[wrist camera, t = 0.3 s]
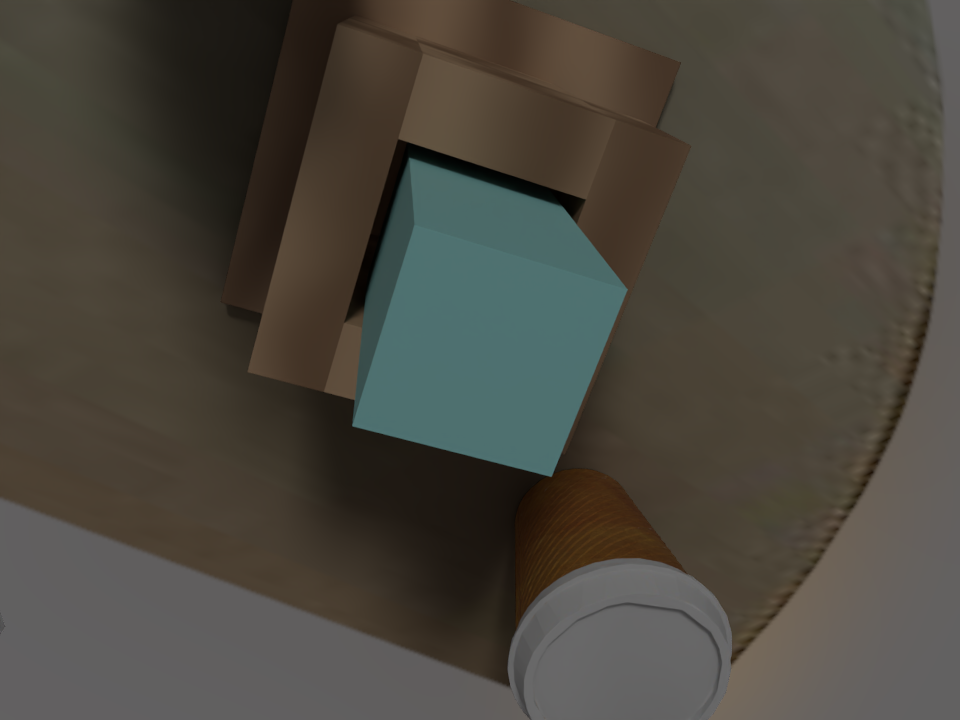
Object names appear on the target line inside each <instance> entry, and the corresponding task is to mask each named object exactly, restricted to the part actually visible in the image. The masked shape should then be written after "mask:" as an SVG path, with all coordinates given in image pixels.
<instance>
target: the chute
mask: <svg viewBox="0 0 960 720" xmlns="http://www.w3.org/2000/svg"><path fill="white" fill-rule="evenodd" d="M680 64H681V62H678V61H675V60H672V59H670V58H667V57H664V56H661V55H659V54H656V53H653V52H650V51H648V50H645V49H642V48H639V47H637V46H634V45H631V44H628V43H626V42H623V41H620V40H617V39H615V38H612V37H609V36H606V35H604V34H601V33H598V32H595V31H593V30H590V29H587V28H584V27H582V26H579V25H576V24H573V23H571V22H568V21H565V20H562V19H560V18H557V17H554V16H551V15H549V14H546V13H543V12H540V11H538V10H535V9H532V8H529V7H527V6H524V5H521V4H519V3H516V2H513V1H510V0H293V2H292V6H291V10H290V15H289V19H288V23H287V27H286V31H285V35H284V40H283V44H282V48H281V52H280V56H279V60H278V65H277V69H276V73H275V77H274V81H273V85H272V90H271V94H270V98H269V102H268V106H267V110H266V115H265V119H264V123H263V127H262V131H261V136H260V140H259V144H258V148H257V152H256V156H255V161H254V165H253V169H252V173H251V177H250V181H249V186H248V190H247V194H246V198H245V202H244V206H243V211H242V215H241V219H240V223H239V227H238V231H237V236H236V240H235V244H234V248H233V252H232V256H231V261H230V265H229V269H228V273H227V277H226V282H225V286H224V290H223V294H222V298H221V303H225V304H229V305H232V306H236V307H240V308H243V309H247V310H251V311H254V312H258V313H262V318H261V322H260V326H259V329H258V333H257V337H256V341H255V345H254V349H253V353H252V357H251V360H250V364H249V368H248V372H249V373H253V374H257V375H260V376H264V377H268V378H272V379H276V380H280V381H283V382H287V383H291V384H295V385H299V386H303V387H306V388H310V389H314V390H318V391H322V392H326V393H330V394H333V395H337V396H341V397H345V398H349V399H353V400H355V394H356V384H357V374H358V364H359V355H360V345H361V335H362V325H363V315H364V306H365V296H366V286H367V276H368V273H369V269H370V266H371V263H372V259H373V256H374V253H375V249H376V246H377V242H378V239H379V236H380V232H381V229H382V226H383V222H384V219H385V216H386V212H387V209H388V206H389V202H390V199H391V195H392V192H393V189H394V185H395V182H396V179H397V175H398V172H399V169H400V165H401V162H402V158H403V155H404V152H405V148H406V145H407V142H409V143H412V144H415V145H419V146H422V147H425V148H428V149H431V150H434V151H437V152H440V153H443V154H446V155H450V156H453V157H456V158H459V159H462V160H465V161H468V162H471V163H474V164H477V165H481V166H484V167H487V168H490V169H493V170H496V171H499V172H502V173H505V174H508V175H512V176H515V177H518V178H521V179H524V180H527V181H530V182H533V183H536V184H539V185H542V186H546V187H548V189H549V190H550V191H551V192H552V194H553V195H554V196H555V198H556V199H557V200H558V201H559V203H560V204H561V205H562V206H563V208H564V209H565V210H566V212H567V213H568V214H569V215H570V217H571V218H572V219H573V220H574V222H575V223H576V224H577V226H578V227H579V228H580V229H581V231H582V232H583V233H584V234H585V236H586V237H587V238H588V240H589V241H590V242H591V243H592V245H593V246H594V247H595V249H596V250H597V251H598V252H599V254H600V255H601V256H602V257H603V259H604V260H605V261H606V263H607V264H608V265H609V266H610V268H611V269H612V270H613V271H614V273H615V274H616V275H617V277H618V278H619V279H620V280H621V282H622V283H623V284H624V285H625V287H626V288H627V289H628V290H627V292H626V295H625V297H624V300H623V302H622V305H621V307H620V310H619V312H618V315H617V317H616V320H615V322H614V324H613V327H612V329H611V332H610V334H609V337H608V339H607V342H606V344H605V347H604V349H603V352H602V354H601V356H600V359H599V361H598V364H597V366H596V369H595V371H594V374H593V376H592V379H591V381H590V384H589V386H588V388H587V391H586V393H585V396H584V398H583V401H582V403H581V406H580V408H579V411H578V413H577V416H576V418H575V420H574V423H573V425H572V428H571V430H570V433H569V435H568V438H567V440H566V443H565V445H564V448H563V450H562V452H561V454H564V455H565V454H566V452H567V449H568V447H569V444H570V442H571V440H572V437H573V435H574V432H575V430H576V427H577V425H578V422H579V420H580V417H581V415H582V413H583V410H584V408H585V405H586V403H587V400H588V398H589V395H590V393H591V391H592V388H593V386H594V383H595V381H596V378H597V376H598V373H599V371H600V369H601V366H602V364H603V361H604V359H605V356H606V354H607V351H608V349H609V346H610V344H611V342H612V339H613V337H614V334H615V332H616V329H617V327H618V324H619V322H620V320H621V317H622V315H623V312H624V310H625V307H626V305H627V302H628V300H629V298H630V295H631V293H632V290H633V288H634V285H635V283H636V280H637V278H638V275H639V273H640V271H641V268H642V266H643V263H644V261H645V258H646V256H647V253H648V251H649V249H650V246H651V244H652V241H653V239H654V236H655V234H656V231H657V229H658V227H659V224H660V222H661V219H662V217H663V214H664V212H665V209H666V207H667V204H668V202H669V200H670V197H671V195H672V192H673V190H674V187H675V185H676V182H677V180H678V178H679V175H680V173H681V170H682V168H683V165H684V163H685V160H686V158H687V156H688V153H689V151H690V148H691V146H690V145H689V144H687V143H685V142H683V141H681V140H679V139H677V138H675V137H673V136H671V135H669V134H667V133H665V132H663V131H661V130H659V129H657V128H656V126H657V123H658V120H659V118H660V115H661V113H662V110H663V108H664V105H665V103H666V100H667V97H668V95H669V92H670V90H671V87H672V85H673V82H674V80H675V77H676V74H677V72H678V69H679V67H680Z"/></svg>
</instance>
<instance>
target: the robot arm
mask: <svg viewBox="0 0 960 720" xmlns="http://www.w3.org/2000/svg"><path fill="white" fill-rule="evenodd" d="M4 627H5V625H4V622H3V620H2V616H1V614H0V634H1V632H2V631H3V629H4Z"/></svg>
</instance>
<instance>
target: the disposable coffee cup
mask: <svg viewBox="0 0 960 720" xmlns="http://www.w3.org/2000/svg"><path fill="white" fill-rule="evenodd" d="M515 580H516V582H515V586H516V591H515V596H516V632H515V634H514V636H513V638H512V641H511V646H510V652H509V657H508V675H509V681H510V687H511V690H512V692H513V695H514V697H515V700H516V701H517V703H518V704H519V706H520V707H521V709H522V710H523V712H524V713H525V714H526V715H527V716H528V717H529V718H530V719H531V720H708V719H709V718H710V717H711V716H712V715H713V713H714V712H715V710H716V708H717V707H718V705H719V703H720V701H721V700H722V698H723V697H724V695H725V693H726V689H727V685H728V680H729V676H730V672H731V663H730V658H731V654H732V633H731V629H730V625H729V622H728V618H727V615H726V613H725V612H724V610H723V608H722V607H721V605H720V604H719V602H718V600H717V599H716V597H715V596H714V595H713V593H712V592H710V591H709V590H708V589H707V588H706V587H704V586H703V585H702V584H701V583H700V582H698V581H697V580H696V579H695V578H694V577H692V576H690V575H688V574H687V573H686V572H685V570H684V569H683V568H682V566H681V564H680V563H679V562H678V561H677V560H676V557H675V556H674V555H673V554H672V553H671V551H670V550H669V549H668V548H667V546H666V545H665V543H664V542H663V541H662V540H661V538H660V536H659V535H658V534H657V533H656V532H655V530H654V529H653V528H652V527H651V525H650V524H649V522H648V521H647V520H646V518H645V517H644V516H643V515H642V513H641V512H640V510H639V509H638V508H637V506H636V505H635V504H634V503H633V501H632V500H631V499H630V497H629V496H628V494H627V493H626V492H625V490H624V489H623V488H622V486H621V485H620V484H619V483H618V482H617V481H615V480H614V479H612V478H611V477H610V476H608V475H605V474H603V473H600V472H598V471H594V470H589V469H569V470H563V471H560V472H557V473H554V474H553V475H552V477H550V476H547V477H546V478H544V479H542V480H540V481H539V482H538V483H537V484H536V485H534V486H533V487H532V488H531V489H530V490H529V491H528V492H527V493H526V494H525V496H524V497H523V499H522V501H521V503H520V504H519V507H518V510H517V514H516V517H515Z"/></svg>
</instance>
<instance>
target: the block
mask: <svg viewBox="0 0 960 720" xmlns="http://www.w3.org/2000/svg"><path fill="white" fill-rule="evenodd" d="M627 290H628V289H627V288H626V287H625V285H624V284H623V283H622V282H621V280H620V279H619V278H618V277H617V275H616V274H615V273H614V271H613V270H612V269H611V268H610V266H609V265H608V264H607V263H606V261H605V260H604V259H603V257H602V256H601V255H600V254H599V252H598V251H597V250H596V249H595V247H594V246H593V245H592V243H591V242H590V241H589V240H588V238H587V237H586V236H585V234H584V233H583V232H582V231H581V229H580V228H579V227H578V226H577V224H576V223H575V222H574V220H573V219H572V218H571V217H570V215H569V214H568V213H567V212H566V210H565V209H564V208H563V206H562V205H561V204H560V203H559V201H558V200H557V199H556V198H555V196H554V195H553V194H552V192H551V191H550V190H549V189H548V187H546V186H542V185H539V184H536V183H533V182H530V181H527V180H524V179H521V178H518V177H515V176H512V175H508V174H505V173H502V172H499V171H496V170H493V169H490V168H487V167H484V166H481V165H477V164H474V163H471V162H468V161H465V160H462V159H459V158H456V157H453V156H450V155H446V154H443V153H440V152H437V151H434V150H431V149H428V148H425V147H422V146H419V145H415V144H412V143H409V142H407V145H406V148H405V152H404V155H403V158H402V162H401V165H400V169H399V172H398V175H397V179H396V182H395V185H394V189H393V192H392V195H391V199H390V202H389V206H388V209H387V212H386V216H385V219H384V222H383V226H382V229H381V232H380V236H379V239H378V242H377V246H376V249H375V253H374V256H373V259H372V263H371V266H370V269H369V273H368V276H367V286H366V296H365V306H364V315H363V325H362V335H361V345H360V355H359V364H358V374H357V384H356V394H355V403H354V413H353V423H352V426H353V427H357V428H361V429H365V430H369V431H373V432H377V433H381V434H385V435H389V436H393V437H397V438H401V439H405V440H408V441H412V442H416V443H420V444H424V445H428V446H432V447H436V448H440V449H444V450H448V451H452V452H456V453H460V454H464V455H467V456H471V457H475V458H479V459H483V460H487V461H491V462H495V463H499V464H503V465H507V466H511V467H515V468H519V469H523V470H526V471H530V472H534V473H538V474H542V475H546V476H550V477H552V475H553V472H554V470H555V467H556V465H557V462H558V460H559V457H560V455H561V452H562V450H563V448H564V445H565V443H566V440H567V438H568V435H569V433H570V430H571V428H572V425H573V423H574V420H575V418H576V416H577V413H578V411H579V408H580V406H581V403H582V401H583V398H584V396H585V393H586V391H587V388H588V386H589V384H590V381H591V379H592V376H593V374H594V371H595V369H596V366H597V364H598V361H599V359H600V356H601V354H602V352H603V349H604V347H605V344H606V342H607V339H608V337H609V334H610V332H611V329H612V327H613V324H614V322H615V320H616V317H617V315H618V312H619V310H620V307H621V305H622V302H623V300H624V297H625V295H626V292H627Z"/></svg>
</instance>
